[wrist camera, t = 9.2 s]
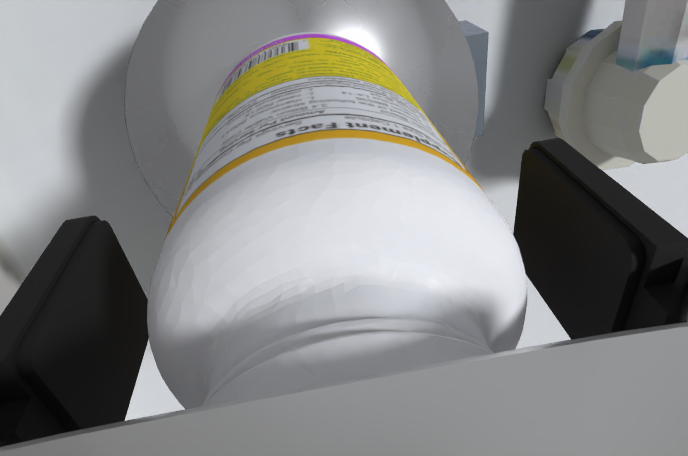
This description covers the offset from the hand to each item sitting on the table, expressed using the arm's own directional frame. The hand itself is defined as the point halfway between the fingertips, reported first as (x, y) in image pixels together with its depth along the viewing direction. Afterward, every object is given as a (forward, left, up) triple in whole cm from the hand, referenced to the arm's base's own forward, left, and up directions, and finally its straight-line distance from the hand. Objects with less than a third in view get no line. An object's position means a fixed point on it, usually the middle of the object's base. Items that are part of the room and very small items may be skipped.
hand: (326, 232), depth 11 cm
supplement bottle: (0, 0, -7) cm, 7 cm away
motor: (0, 0, -12) cm, 12 cm away
